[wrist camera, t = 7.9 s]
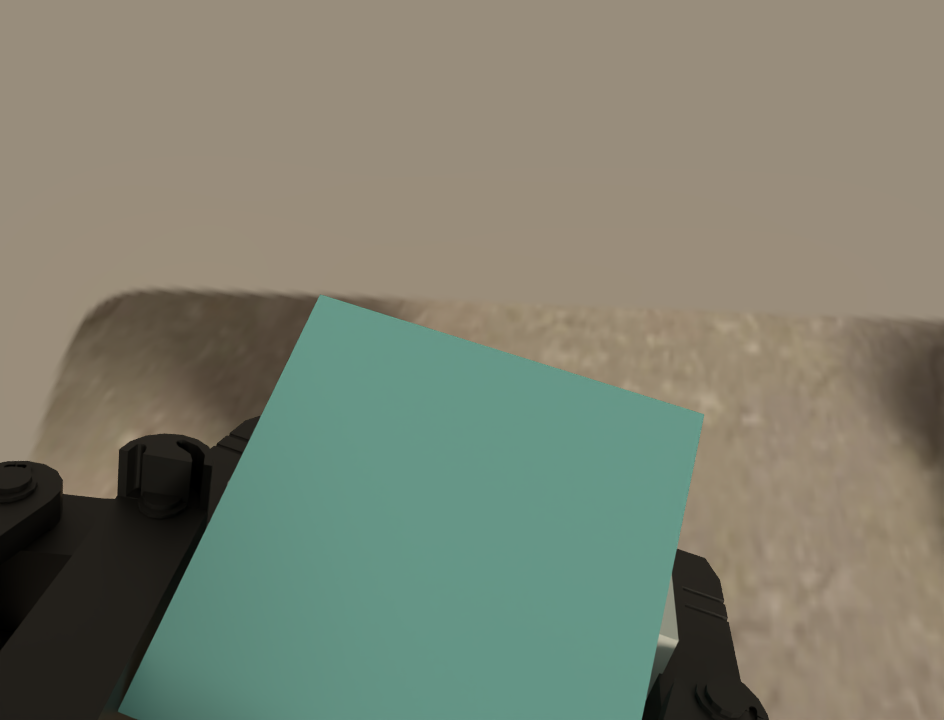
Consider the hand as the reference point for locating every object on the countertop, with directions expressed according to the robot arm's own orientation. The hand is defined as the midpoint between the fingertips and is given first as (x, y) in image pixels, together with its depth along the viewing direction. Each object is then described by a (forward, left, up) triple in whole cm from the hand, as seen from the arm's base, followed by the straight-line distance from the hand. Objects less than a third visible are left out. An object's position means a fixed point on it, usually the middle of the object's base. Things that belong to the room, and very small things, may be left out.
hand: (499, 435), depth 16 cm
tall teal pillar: (0, +4, -3) cm, 5 cm away
